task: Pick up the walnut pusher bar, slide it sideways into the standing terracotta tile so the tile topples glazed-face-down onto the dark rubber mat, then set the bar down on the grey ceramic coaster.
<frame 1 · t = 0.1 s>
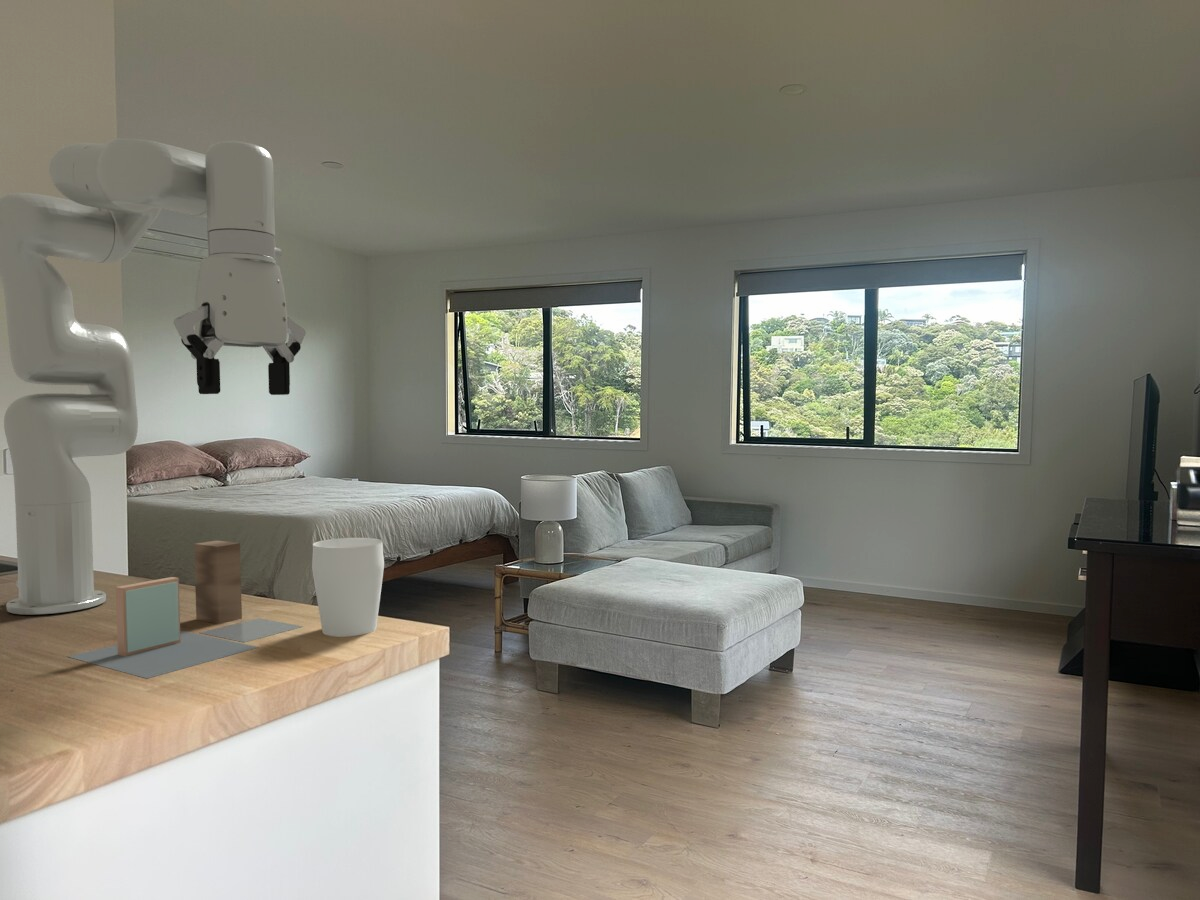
hand: (245, 394, 105), 31 cm above the counter, fingers open, 9 cm apart
cup: (349, 635, 113), on the counter
bar: (219, 623, 119), on the counter
coaster: (252, 634, 113), on the counter
mat: (164, 656, 103), on the counter
tile: (150, 648, 105), point 1 cm above the counter, touching mat
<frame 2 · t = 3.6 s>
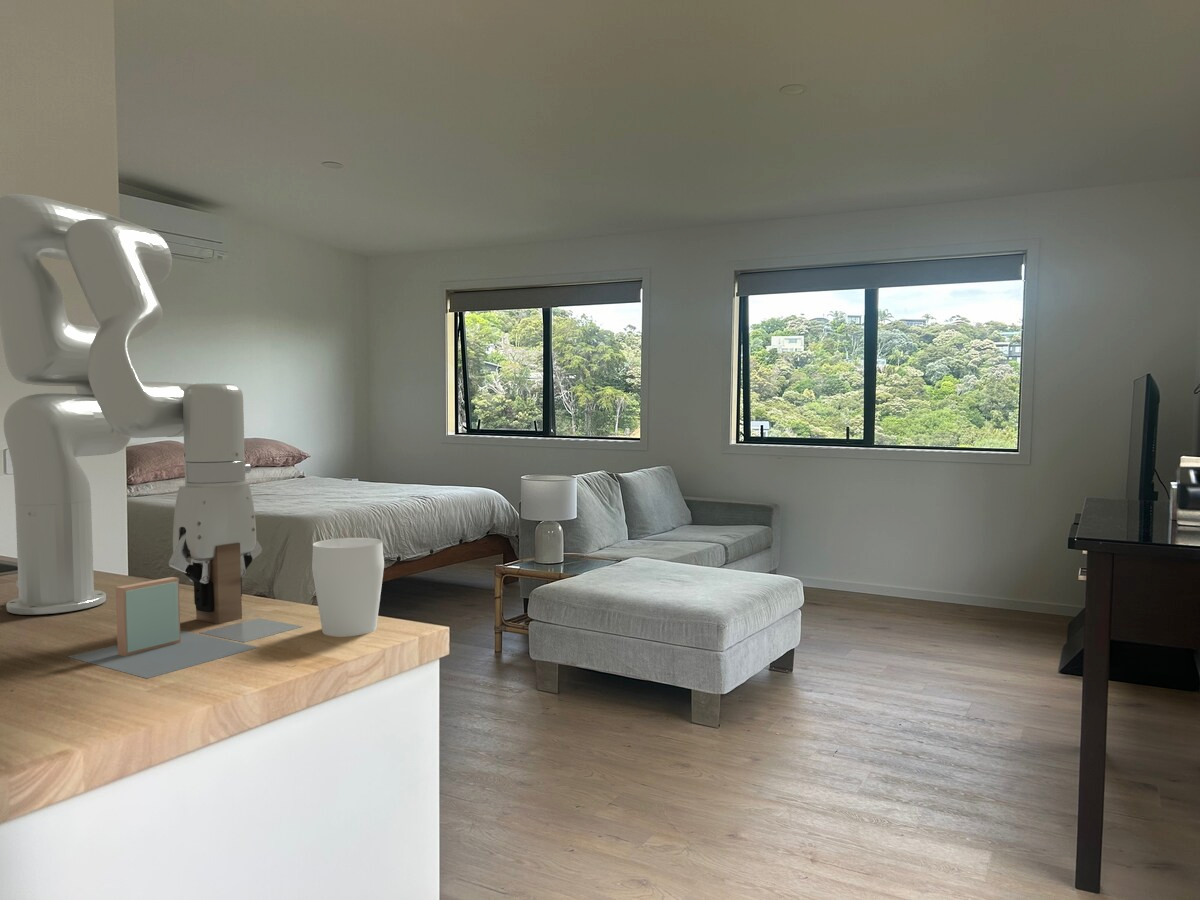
hand: (218, 606, 119), 2 cm above the counter, fingers closed on bar, 3 cm apart
bar: (219, 622, 119), on the counter, touching gripper
everything else where it was.
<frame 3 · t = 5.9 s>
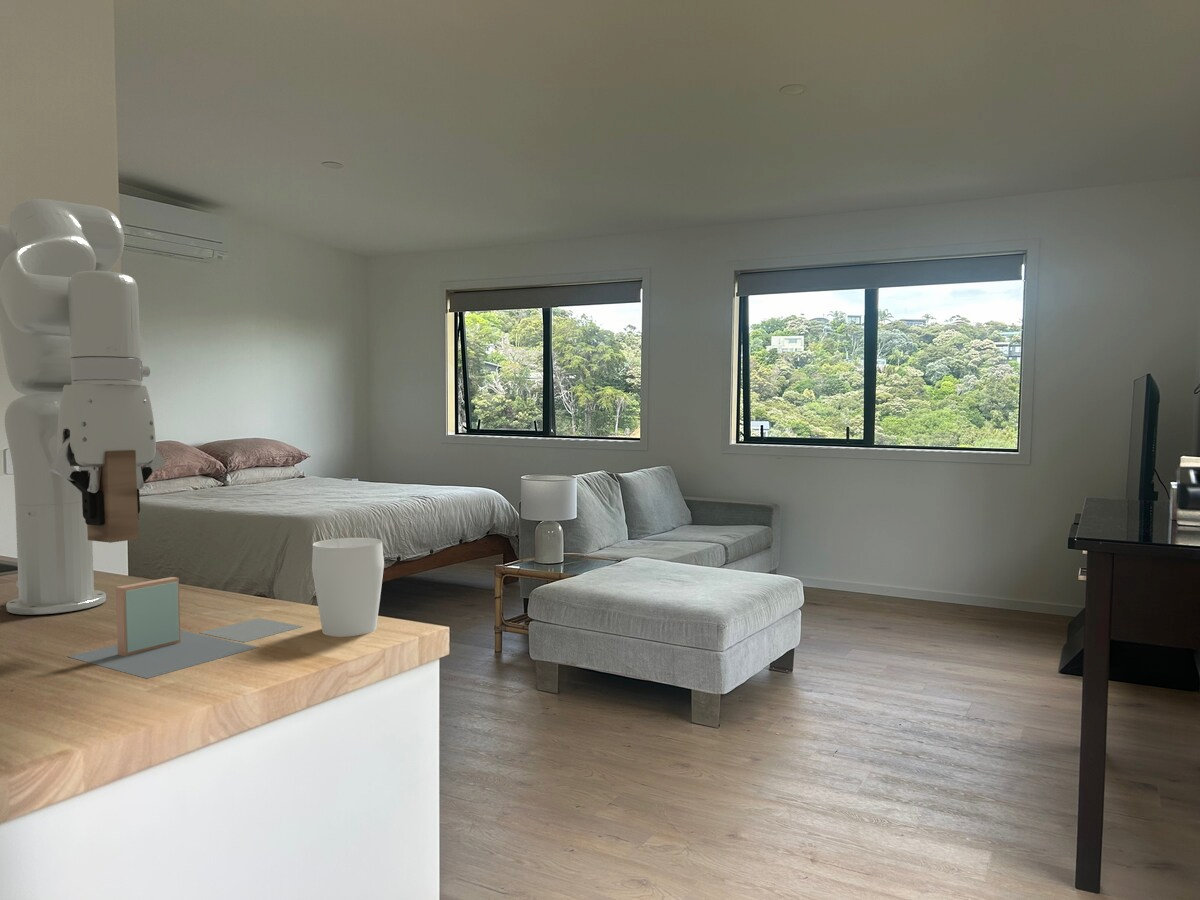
hand: (112, 521, 108), 16 cm above the counter, fingers closed on bar, 3 cm apart
bar: (113, 539, 108), point 13 cm above the counter, touching gripper
everything else where it was.
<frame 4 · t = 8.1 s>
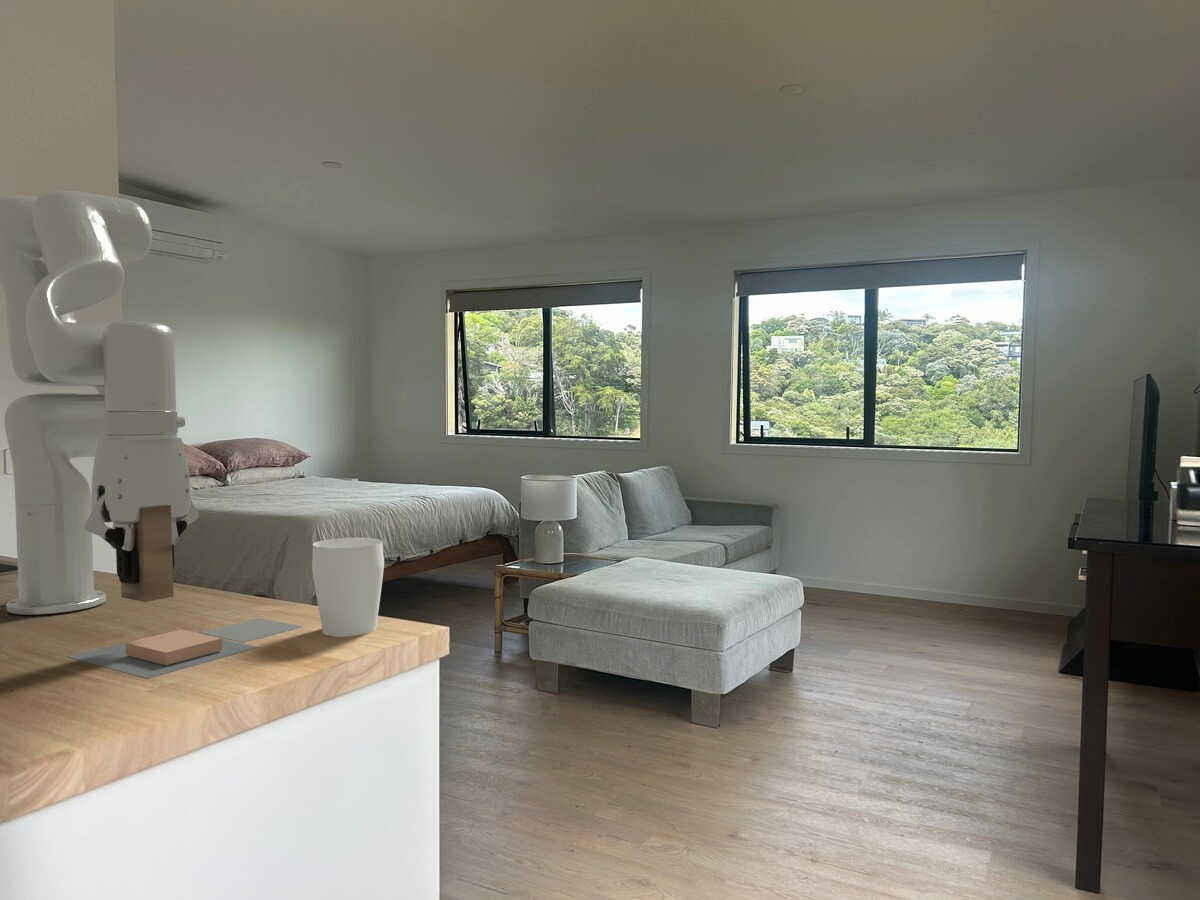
hand: (146, 578, 105), 9 cm above the counter, fingers closed on bar, 3 cm apart
bar: (147, 597, 105), point 7 cm above the counter, touching gripper
tile: (154, 641, 104), point 2 cm above the counter, tilted 90°, touching mat
everything else where it was.
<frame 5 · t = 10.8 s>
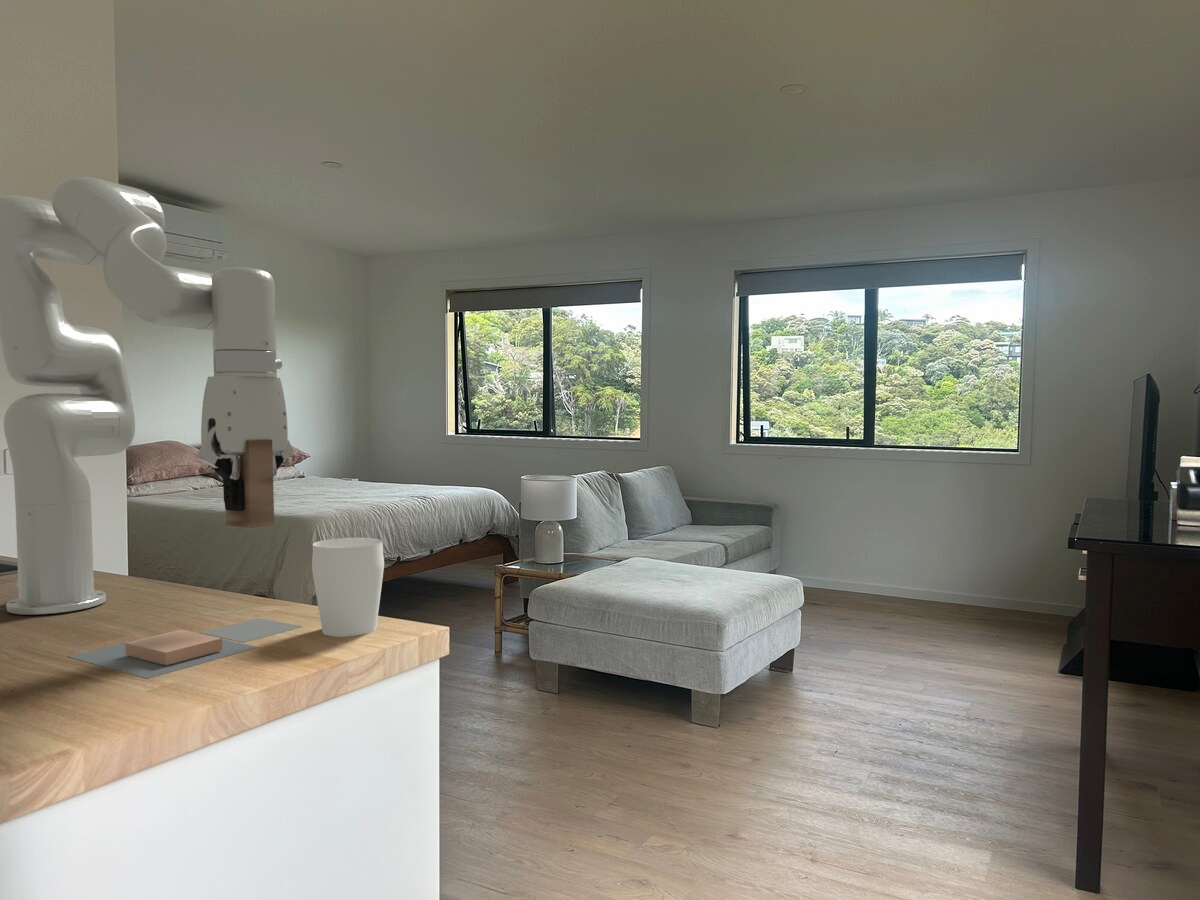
hand: (249, 507, 113), 17 cm above the counter, fingers closed on bar, 3 cm apart
bar: (250, 524, 113), point 14 cm above the counter, touching gripper
everything else where it was.
when the fingers open (4 cm above the counter, at t = 13.3 s): bar stays where it is, resting on coaster.
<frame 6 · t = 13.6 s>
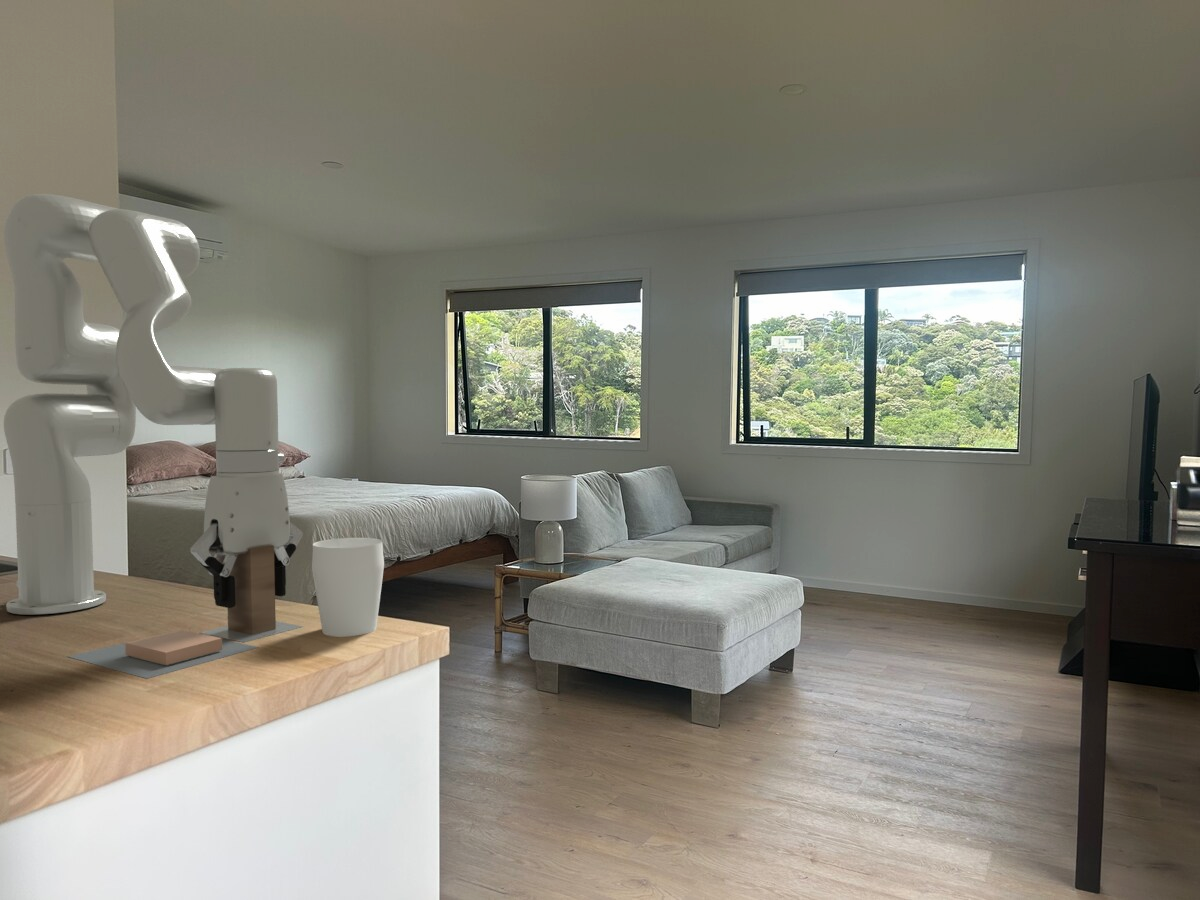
hand: (251, 599, 113), 5 cm above the counter, fingers open, 7 cm apart
bar: (252, 629, 113), point 1 cm above the counter, touching coaster
everything else where it was.
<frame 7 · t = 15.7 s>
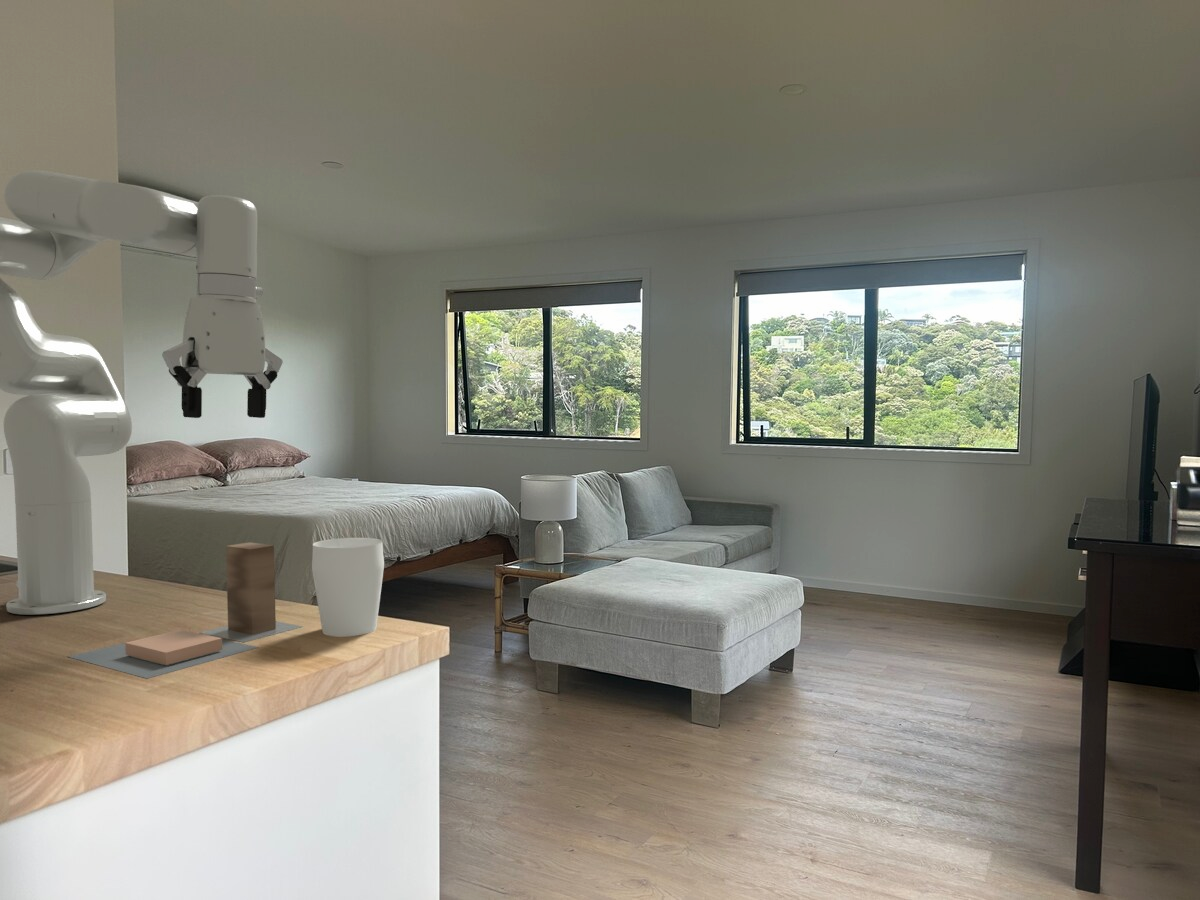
hand: (225, 417, 119), 28 cm above the counter, fingers open, 9 cm apart
nothing on the counter moved.
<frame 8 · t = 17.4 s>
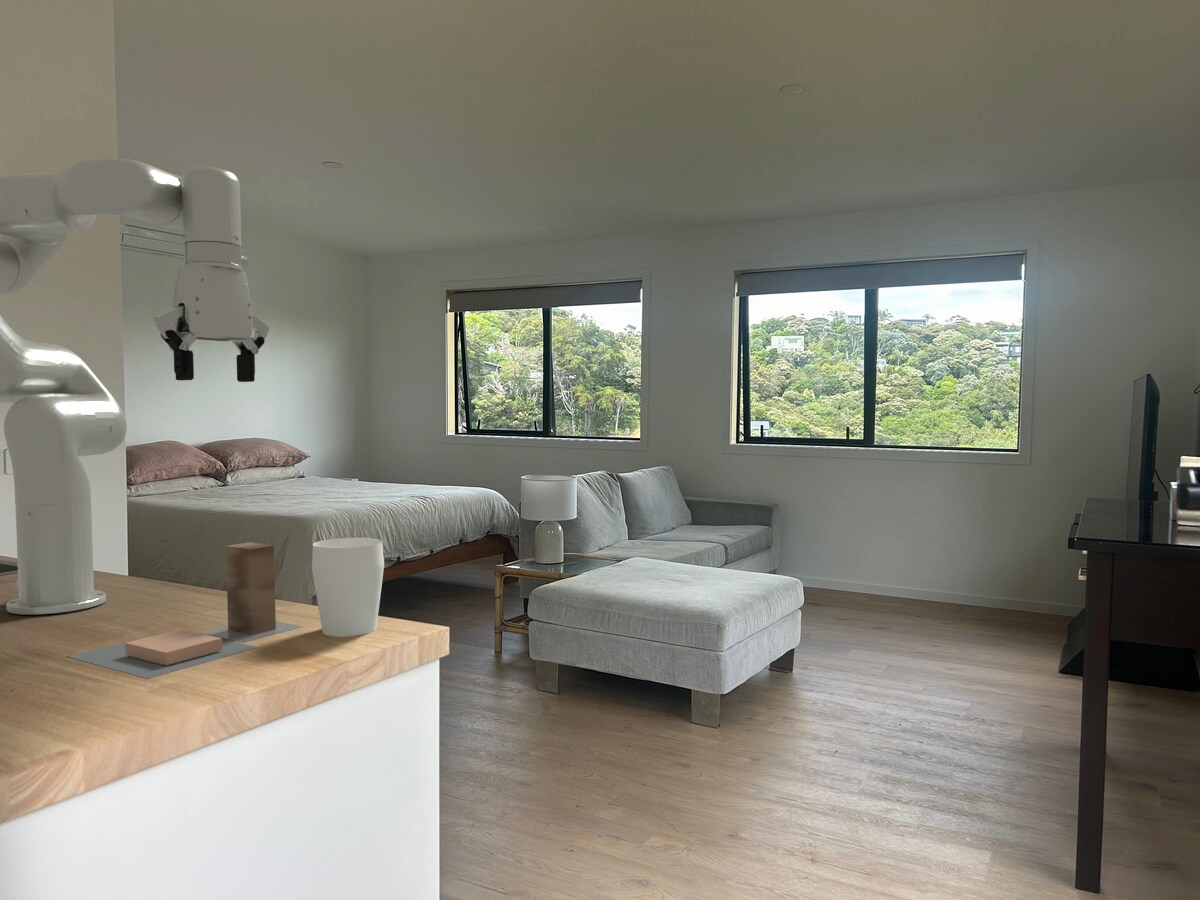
hand: (216, 380, 124), 33 cm above the counter, fingers open, 9 cm apart
nothing on the counter moved.
at the end: tile tilted 90°; tile inside the target area (5.1 cm from its centre), point 1.5 cm above the counter; bar 0.0 cm from the coaster (horizontally) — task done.
